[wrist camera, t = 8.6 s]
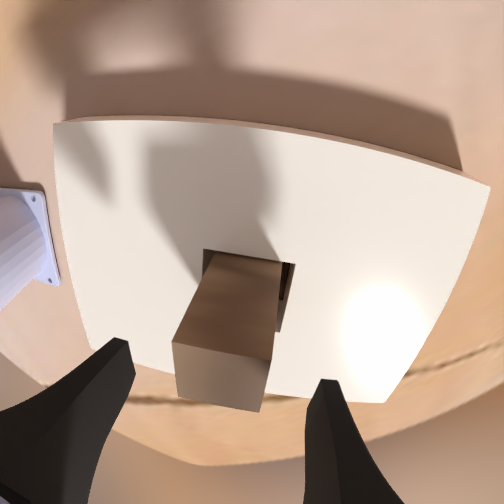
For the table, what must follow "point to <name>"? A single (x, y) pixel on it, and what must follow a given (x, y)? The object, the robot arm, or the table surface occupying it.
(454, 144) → the table surface
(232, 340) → the walnut peg
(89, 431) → the robot arm
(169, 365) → the socket base
